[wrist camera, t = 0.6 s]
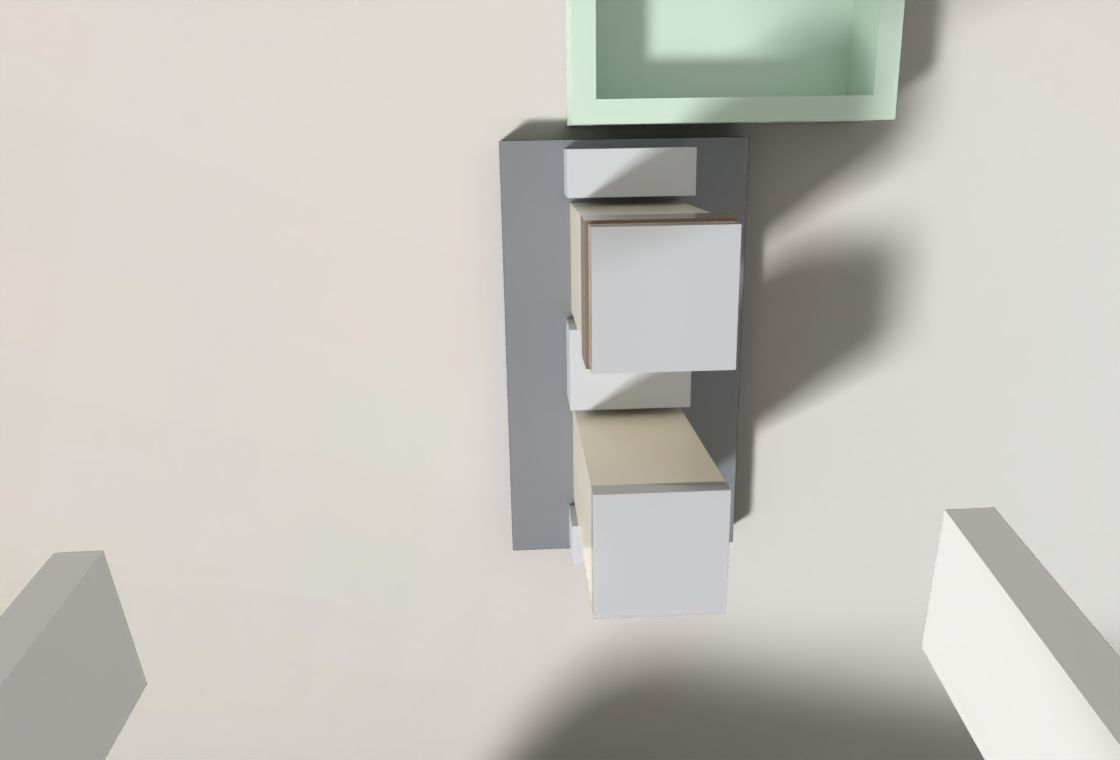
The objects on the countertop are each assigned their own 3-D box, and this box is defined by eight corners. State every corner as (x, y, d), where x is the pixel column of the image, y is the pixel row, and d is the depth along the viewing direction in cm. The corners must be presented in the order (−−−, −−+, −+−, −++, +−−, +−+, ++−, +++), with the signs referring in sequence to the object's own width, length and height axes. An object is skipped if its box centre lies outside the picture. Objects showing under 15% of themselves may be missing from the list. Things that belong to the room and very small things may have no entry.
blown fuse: (679, 310, 33) (739, 373, 24) (569, 313, 33) (588, 377, 24) (681, 197, 32) (745, 220, 23) (567, 199, 32) (587, 223, 23)
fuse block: (725, 529, 37) (745, 565, 34) (512, 537, 36) (512, 574, 33) (740, 137, 32) (764, 136, 29) (499, 141, 32) (498, 141, 29)
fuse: (672, 494, 35) (726, 613, 26) (573, 498, 35) (593, 618, 26) (674, 399, 34) (731, 490, 25) (572, 402, 34) (593, 495, 25)
